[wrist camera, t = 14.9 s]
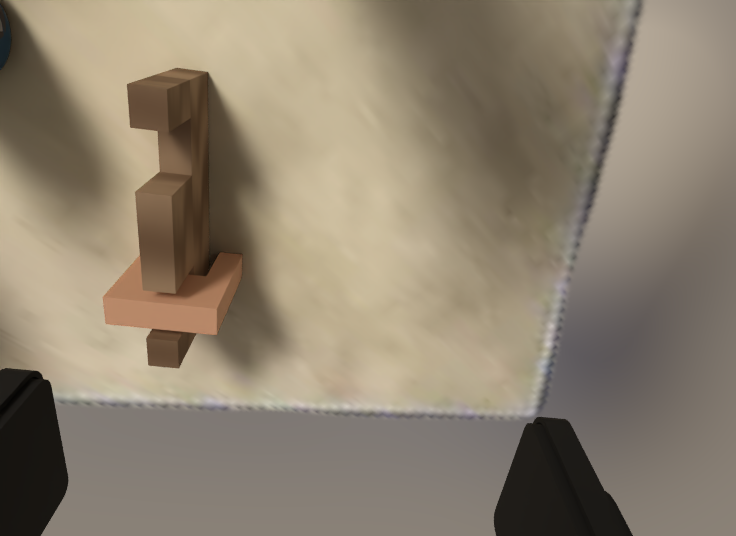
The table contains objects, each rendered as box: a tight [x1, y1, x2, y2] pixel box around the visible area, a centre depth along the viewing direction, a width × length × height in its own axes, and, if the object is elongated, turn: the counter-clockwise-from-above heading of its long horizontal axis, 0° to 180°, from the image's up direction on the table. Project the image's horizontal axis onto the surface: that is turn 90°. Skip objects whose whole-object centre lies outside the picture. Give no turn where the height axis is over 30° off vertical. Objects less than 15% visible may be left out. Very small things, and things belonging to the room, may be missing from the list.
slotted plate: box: [103, 252, 242, 335], centre depth 36 cm, size 2×7×8 cm, turn 83°
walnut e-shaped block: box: [127, 68, 210, 368], centre depth 34 cm, size 18×2×8 cm, turn 173°
